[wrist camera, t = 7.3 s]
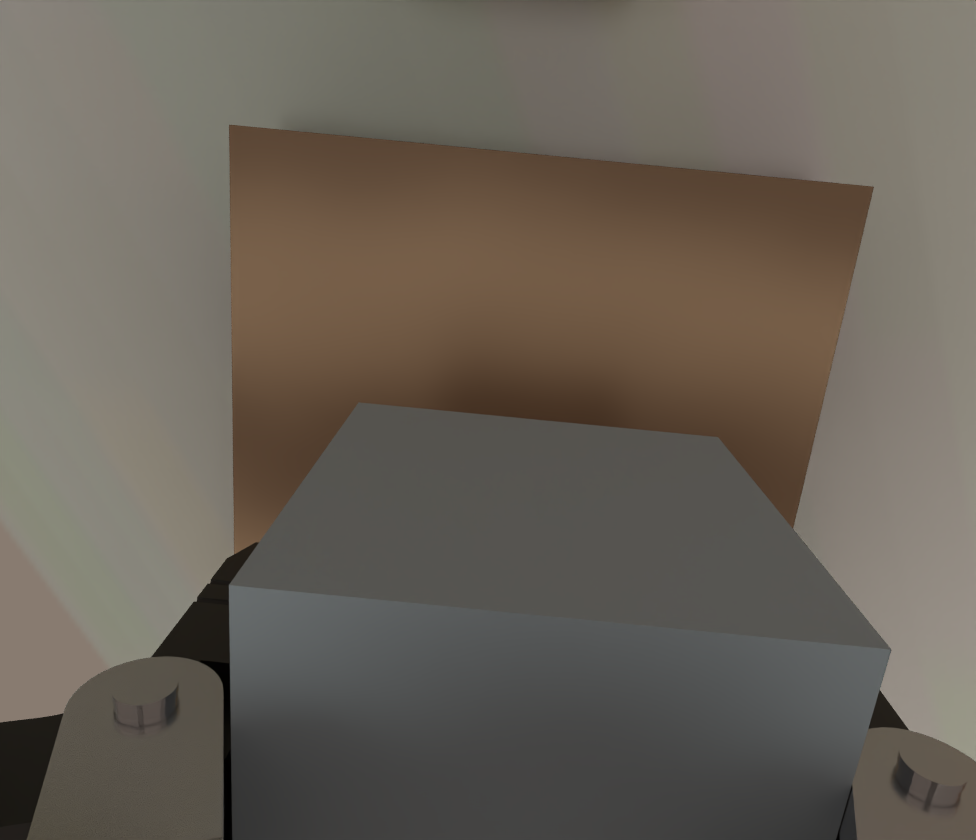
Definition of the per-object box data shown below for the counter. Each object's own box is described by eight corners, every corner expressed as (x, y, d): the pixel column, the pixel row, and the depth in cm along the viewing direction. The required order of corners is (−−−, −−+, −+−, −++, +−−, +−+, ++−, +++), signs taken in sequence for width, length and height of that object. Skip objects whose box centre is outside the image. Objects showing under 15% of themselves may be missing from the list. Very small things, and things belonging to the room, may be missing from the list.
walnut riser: (277, 134, 17) (229, 124, 14) (812, 186, 17) (873, 187, 14) (274, 604, 20) (235, 672, 18) (714, 647, 20) (747, 723, 18)
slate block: (358, 401, 10) (228, 584, 6) (718, 437, 10) (892, 649, 6) (345, 704, 12) (235, 1050, 7) (659, 735, 12) (759, 1101, 7)
